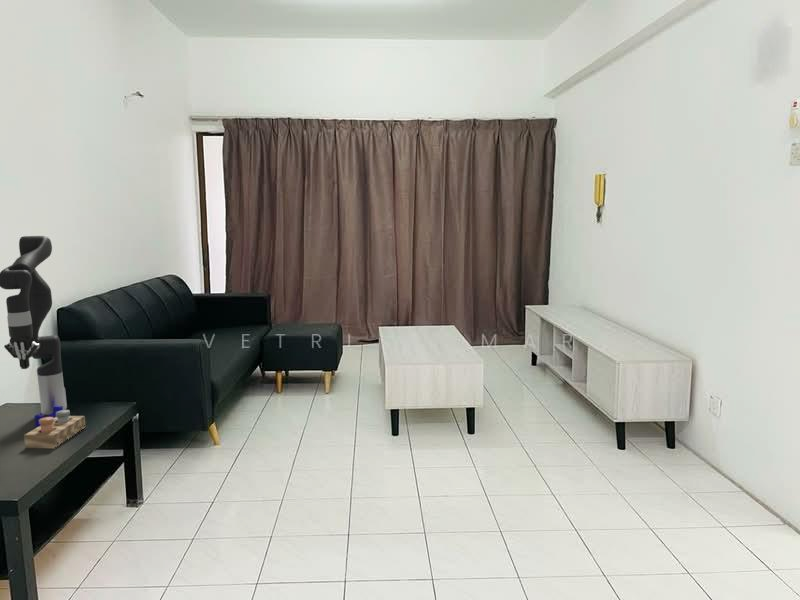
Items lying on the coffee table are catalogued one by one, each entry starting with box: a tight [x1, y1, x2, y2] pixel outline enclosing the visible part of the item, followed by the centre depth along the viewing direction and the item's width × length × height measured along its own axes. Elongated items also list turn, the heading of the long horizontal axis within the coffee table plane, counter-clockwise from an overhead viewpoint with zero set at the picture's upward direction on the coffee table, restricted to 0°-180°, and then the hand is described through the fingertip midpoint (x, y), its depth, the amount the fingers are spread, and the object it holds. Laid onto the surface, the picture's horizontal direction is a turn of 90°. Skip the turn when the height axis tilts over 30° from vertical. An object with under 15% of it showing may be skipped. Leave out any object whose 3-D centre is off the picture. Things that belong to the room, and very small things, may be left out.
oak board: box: [23, 415, 87, 449], centre depth 227 cm, size 20×11×5 cm, turn 177°
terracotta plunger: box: [39, 416, 54, 433], centre depth 222 cm, size 5×5×8 cm
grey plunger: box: [56, 409, 71, 423], centre depth 232 cm, size 5×5×8 cm
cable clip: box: [34, 406, 63, 429], centre depth 241 cm, size 12×4×6 cm, turn 173°
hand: (25, 368), depth 224 cm, fingers closed
